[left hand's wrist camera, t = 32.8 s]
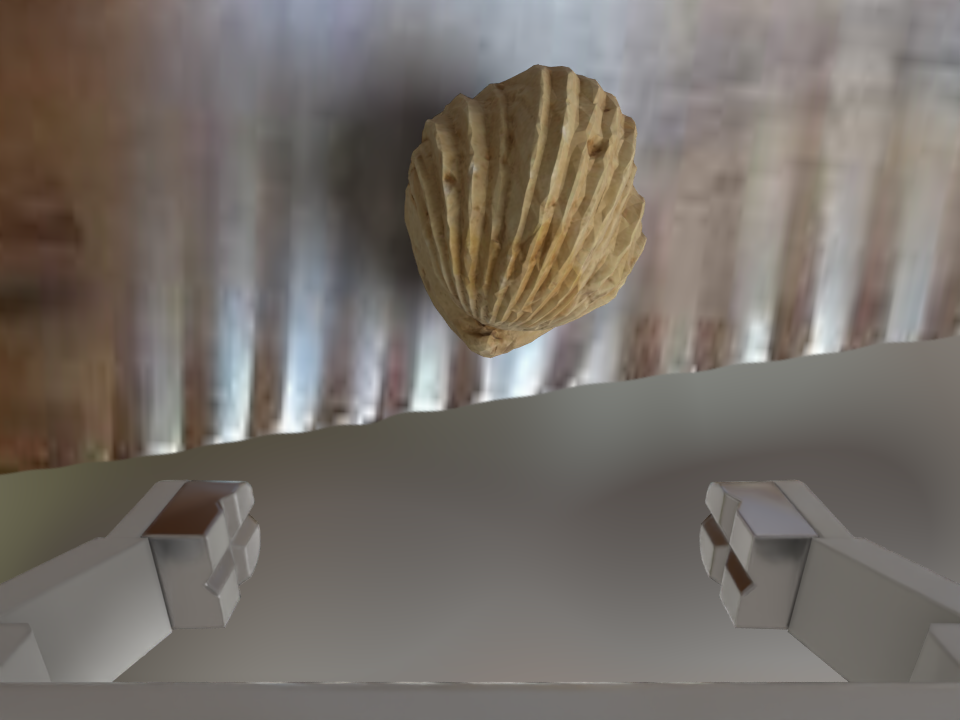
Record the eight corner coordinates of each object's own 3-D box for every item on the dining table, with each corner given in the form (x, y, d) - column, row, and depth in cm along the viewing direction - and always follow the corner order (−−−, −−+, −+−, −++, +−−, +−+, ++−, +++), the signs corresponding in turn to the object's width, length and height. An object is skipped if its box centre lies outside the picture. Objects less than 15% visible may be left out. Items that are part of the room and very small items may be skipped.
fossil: (382, 290, 44) (336, 366, 30) (445, 41, 38) (424, -7, 24) (570, 345, 46) (609, 442, 32) (660, 116, 39) (757, 112, 26)
